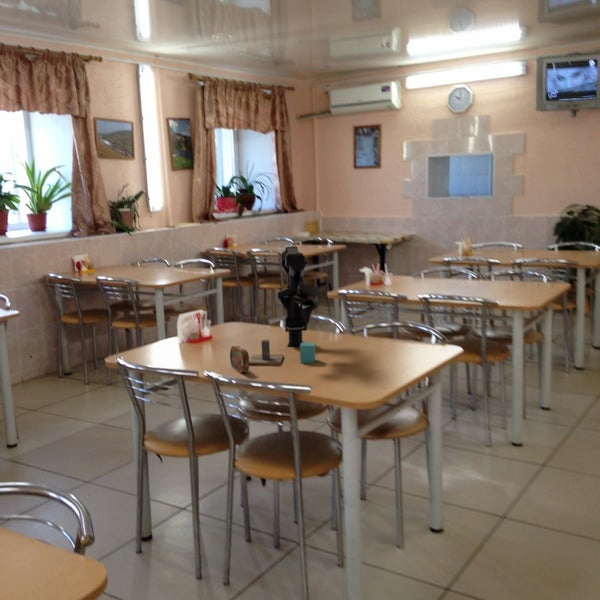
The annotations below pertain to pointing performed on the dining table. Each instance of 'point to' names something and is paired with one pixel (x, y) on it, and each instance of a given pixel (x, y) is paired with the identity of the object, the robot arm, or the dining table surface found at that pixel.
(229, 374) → the dining table surface
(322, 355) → the dining table surface
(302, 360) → the teal rectangular block
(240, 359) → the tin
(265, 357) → the post stand
